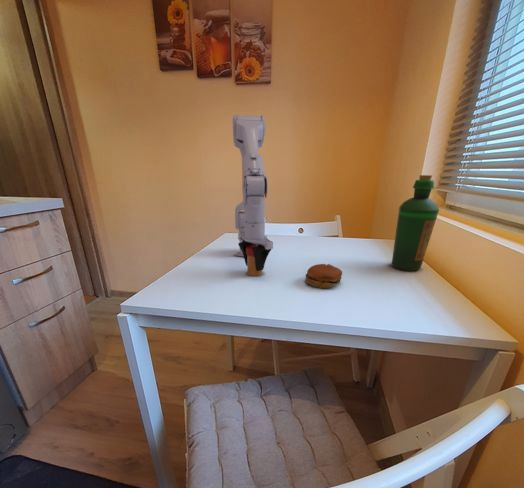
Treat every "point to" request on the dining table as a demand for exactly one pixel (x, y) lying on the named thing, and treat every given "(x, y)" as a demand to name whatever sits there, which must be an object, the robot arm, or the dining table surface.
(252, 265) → the honey jar
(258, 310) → the dining table surface
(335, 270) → the burger
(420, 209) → the bottle
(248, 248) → the jar lid
